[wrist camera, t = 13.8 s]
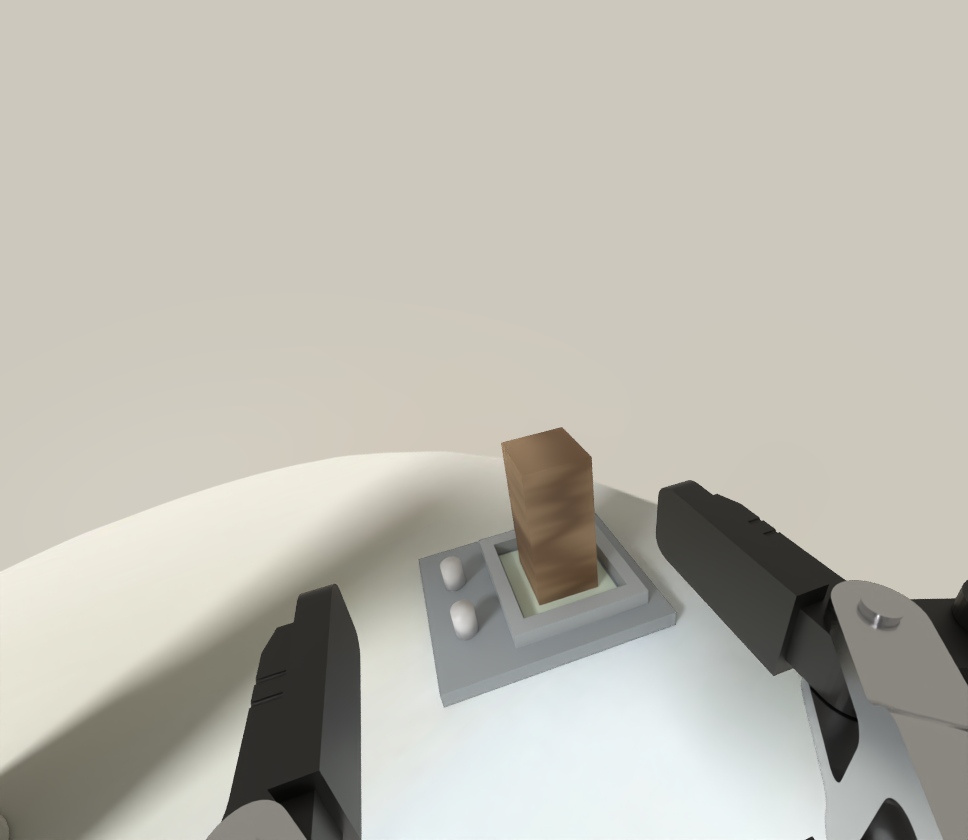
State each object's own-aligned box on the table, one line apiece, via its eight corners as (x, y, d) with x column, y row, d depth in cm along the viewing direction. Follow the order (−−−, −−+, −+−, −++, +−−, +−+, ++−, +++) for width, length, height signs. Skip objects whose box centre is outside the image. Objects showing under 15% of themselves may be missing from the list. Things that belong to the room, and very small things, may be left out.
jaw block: (539, 605, 30) (521, 476, 25) (519, 561, 34) (501, 442, 29) (598, 586, 31) (591, 457, 26) (571, 545, 35) (562, 427, 30)
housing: (443, 707, 26) (433, 674, 25) (421, 569, 37) (413, 541, 35) (675, 624, 28) (677, 590, 27) (591, 518, 39) (590, 489, 38)
